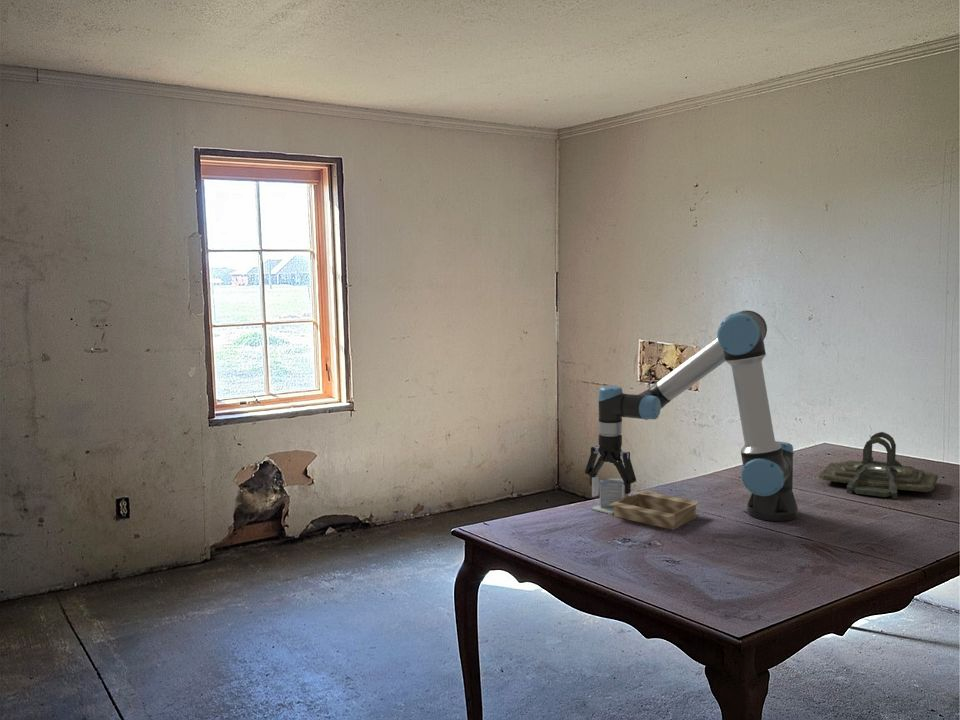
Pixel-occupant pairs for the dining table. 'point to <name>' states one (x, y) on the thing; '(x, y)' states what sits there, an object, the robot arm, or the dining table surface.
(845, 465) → the olive flat handled piece
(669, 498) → the wooden tray
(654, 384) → the robot arm
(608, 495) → the medicine box
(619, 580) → the dining table surface
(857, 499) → the dining table surface
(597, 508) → the mat
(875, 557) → the dining table surface
